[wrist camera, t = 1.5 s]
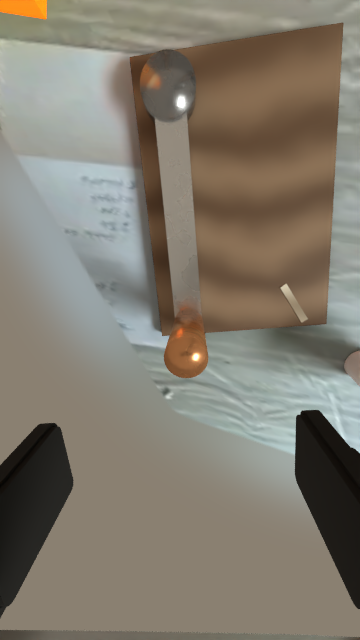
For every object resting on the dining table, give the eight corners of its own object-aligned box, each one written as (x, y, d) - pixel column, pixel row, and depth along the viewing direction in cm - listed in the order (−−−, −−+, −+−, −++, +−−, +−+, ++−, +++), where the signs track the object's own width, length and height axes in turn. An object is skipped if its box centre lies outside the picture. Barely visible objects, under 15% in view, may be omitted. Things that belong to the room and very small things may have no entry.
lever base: (132, 66, 24) (129, 56, 23) (335, 34, 23) (343, 21, 21) (163, 333, 31) (162, 336, 30) (320, 321, 30) (326, 324, 28)
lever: (141, 71, 23) (91, -107, 12) (193, 63, 23) (193, -129, 11) (169, 333, 29) (154, 379, 18) (210, 330, 29) (221, 376, 18)
